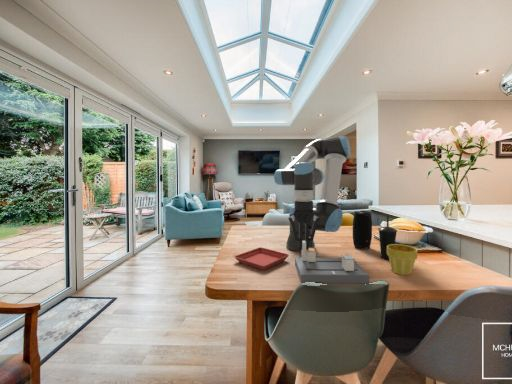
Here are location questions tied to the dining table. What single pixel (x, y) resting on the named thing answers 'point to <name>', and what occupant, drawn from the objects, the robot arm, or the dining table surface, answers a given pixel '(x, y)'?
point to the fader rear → (311, 255)
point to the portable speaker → (362, 229)
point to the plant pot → (402, 258)
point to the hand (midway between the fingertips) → (303, 256)
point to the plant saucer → (261, 258)
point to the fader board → (329, 271)
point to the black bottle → (386, 239)
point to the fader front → (348, 262)
